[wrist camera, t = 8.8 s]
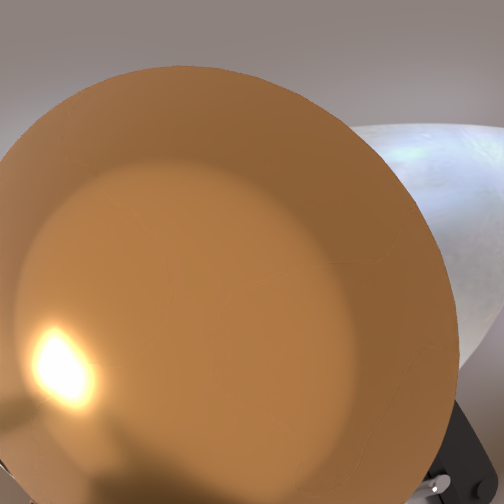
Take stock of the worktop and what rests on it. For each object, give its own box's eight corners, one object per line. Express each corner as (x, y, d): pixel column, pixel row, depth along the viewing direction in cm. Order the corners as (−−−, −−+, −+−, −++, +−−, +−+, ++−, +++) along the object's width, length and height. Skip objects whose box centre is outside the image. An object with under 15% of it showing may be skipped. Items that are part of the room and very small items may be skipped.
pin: (223, 339, 19) (0, 483, 1) (224, 270, 20) (-17, 142, 2) (293, 340, 18) (371, 580, 1) (293, 270, 19) (409, 64, 2)
